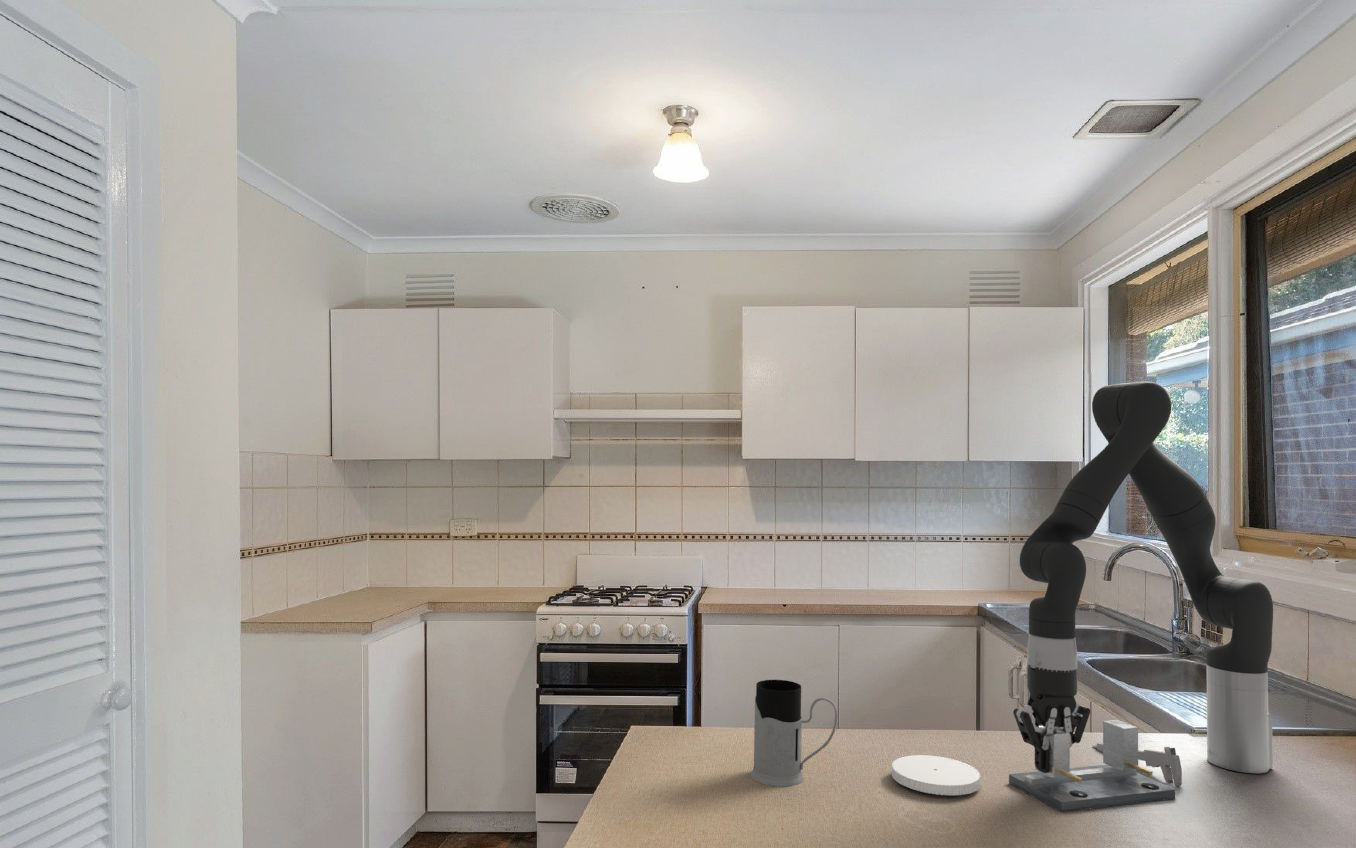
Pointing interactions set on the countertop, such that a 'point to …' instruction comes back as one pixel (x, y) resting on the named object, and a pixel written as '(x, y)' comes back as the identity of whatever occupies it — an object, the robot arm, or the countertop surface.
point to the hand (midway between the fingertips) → (1052, 769)
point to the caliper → (1160, 762)
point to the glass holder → (780, 733)
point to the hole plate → (1092, 788)
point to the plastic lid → (936, 775)
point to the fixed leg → (1121, 746)
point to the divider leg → (1059, 756)
